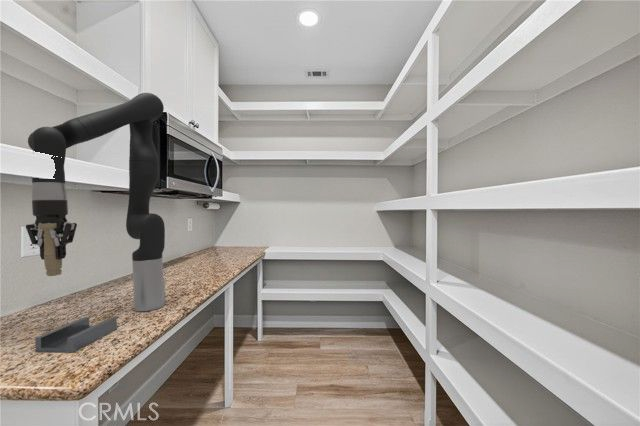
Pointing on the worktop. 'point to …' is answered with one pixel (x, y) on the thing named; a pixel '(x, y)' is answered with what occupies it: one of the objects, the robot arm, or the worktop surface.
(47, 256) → the handle
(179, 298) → the worktop surface
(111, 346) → the worktop surface
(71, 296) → the worktop surface
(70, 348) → the floor track
